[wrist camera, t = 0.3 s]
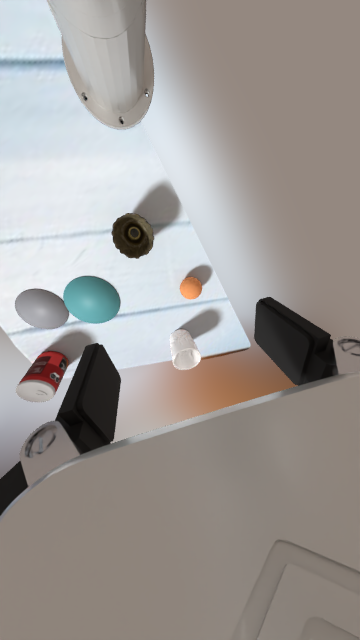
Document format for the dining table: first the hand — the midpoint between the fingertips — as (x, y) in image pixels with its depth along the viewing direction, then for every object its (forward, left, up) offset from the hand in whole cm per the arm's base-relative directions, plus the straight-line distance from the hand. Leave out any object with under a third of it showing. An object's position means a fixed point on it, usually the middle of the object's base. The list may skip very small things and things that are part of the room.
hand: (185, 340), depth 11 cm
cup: (-3, -3, -36) cm, 36 cm away
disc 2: (+11, -17, -36) cm, 41 cm away
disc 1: (+11, -29, -36) cm, 47 cm away
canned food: (+27, -34, -36) cm, 56 cm away
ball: (+11, +8, -33) cm, 35 cm away
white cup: (+28, +4, -36) cm, 46 cm away
